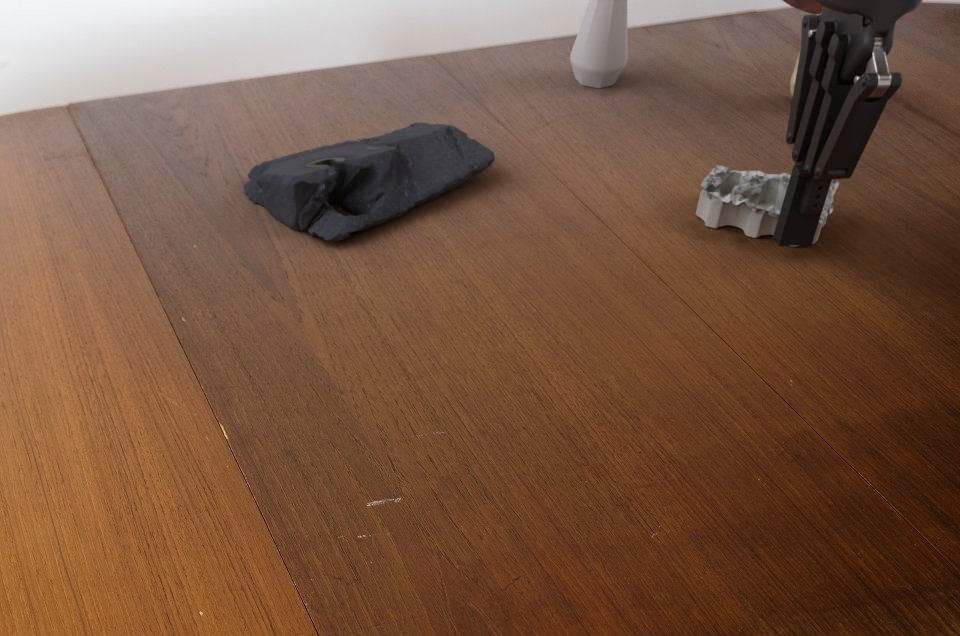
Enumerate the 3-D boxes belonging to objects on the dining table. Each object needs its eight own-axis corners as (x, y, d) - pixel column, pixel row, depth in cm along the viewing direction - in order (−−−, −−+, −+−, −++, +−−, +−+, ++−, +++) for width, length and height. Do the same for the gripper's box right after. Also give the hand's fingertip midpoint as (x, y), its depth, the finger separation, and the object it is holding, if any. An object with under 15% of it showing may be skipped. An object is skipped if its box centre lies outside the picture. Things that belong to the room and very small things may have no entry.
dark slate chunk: (518, 187, 114) (525, 139, 111) (319, 255, 106) (320, 205, 102) (417, 126, 124) (420, 80, 121) (227, 184, 116) (226, 136, 112)
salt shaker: (580, 94, 129) (601, -35, 120) (558, 72, 133) (577, -54, 125) (632, 88, 130) (657, -41, 121) (609, 66, 134) (631, -59, 125)
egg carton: (833, 218, 108) (848, 175, 106) (810, 256, 104) (824, 212, 101) (712, 187, 113) (723, 146, 110) (684, 222, 108) (695, 179, 106)
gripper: (794, -81, 92) (722, 205, 108) (863, -22, 83) (773, 283, 98) (895, -84, 92) (808, 202, 108) (976, -26, 83) (868, 281, 98)
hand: (792, 240), depth 103 cm, fingers closed
